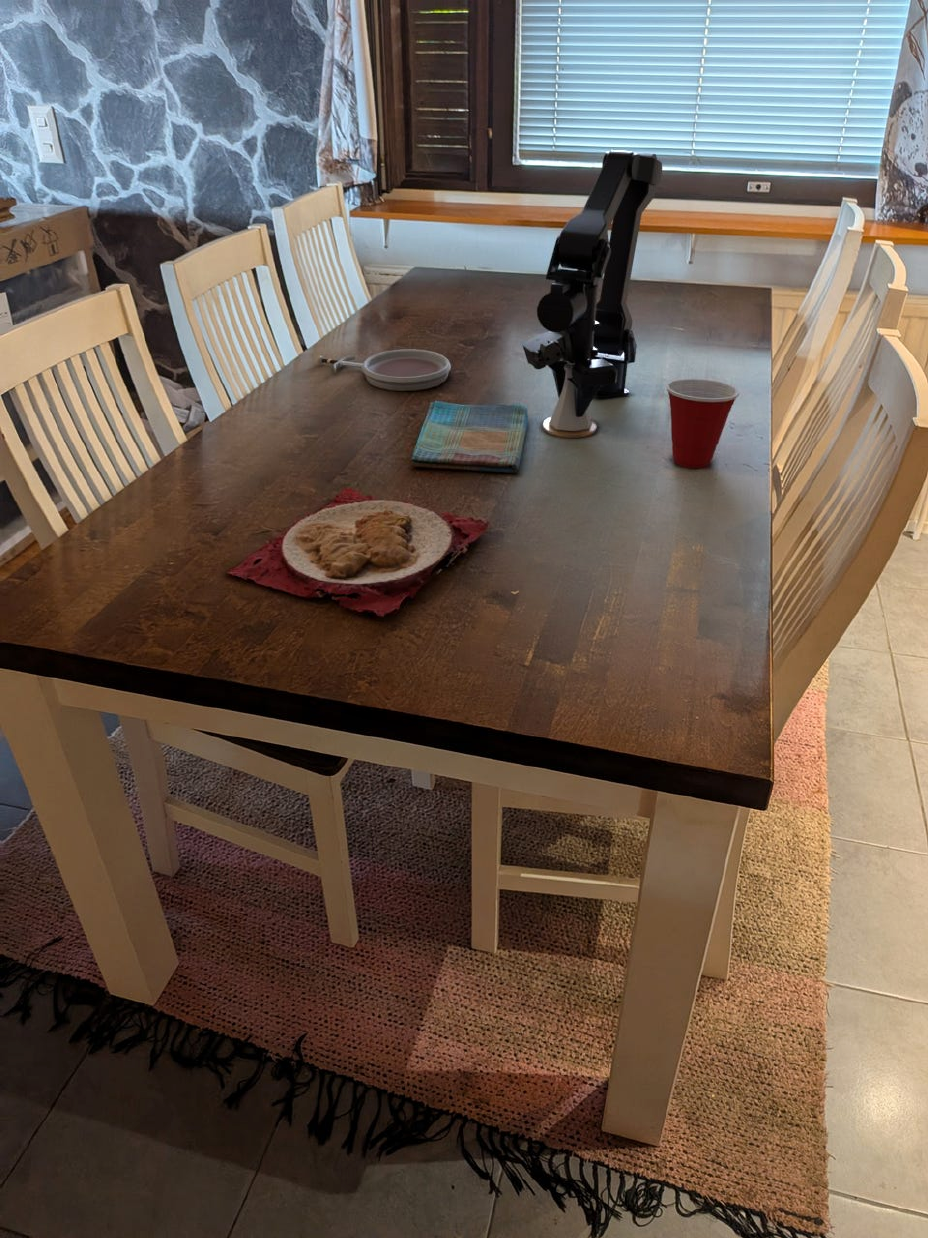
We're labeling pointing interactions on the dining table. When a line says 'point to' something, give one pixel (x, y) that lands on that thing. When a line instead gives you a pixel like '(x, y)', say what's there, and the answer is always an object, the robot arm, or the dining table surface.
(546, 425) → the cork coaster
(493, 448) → the dish towel
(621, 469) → the dining table surface
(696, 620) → the dining table surface
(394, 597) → the plate with food
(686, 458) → the plastic cup
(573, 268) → the robot arm
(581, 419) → the flask
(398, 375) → the frying pan
